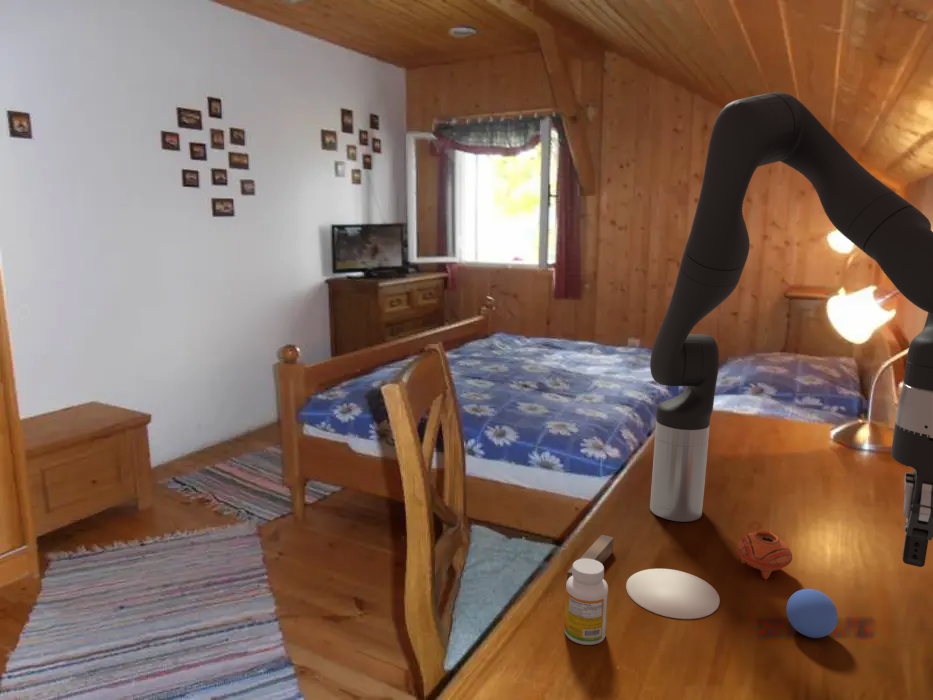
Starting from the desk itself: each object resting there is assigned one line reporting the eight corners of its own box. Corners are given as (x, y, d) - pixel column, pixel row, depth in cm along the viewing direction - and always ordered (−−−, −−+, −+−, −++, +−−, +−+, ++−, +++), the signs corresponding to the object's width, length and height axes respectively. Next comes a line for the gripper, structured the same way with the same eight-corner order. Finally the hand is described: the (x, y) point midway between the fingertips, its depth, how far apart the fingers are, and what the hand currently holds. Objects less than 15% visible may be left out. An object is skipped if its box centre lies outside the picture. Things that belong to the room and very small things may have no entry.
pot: (762, 551, 111) (774, 518, 108) (794, 586, 104) (808, 551, 102) (720, 555, 109) (731, 521, 106) (750, 591, 102) (763, 556, 99)
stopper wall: (601, 548, 112) (601, 534, 111) (612, 551, 111) (613, 537, 110) (566, 587, 100) (567, 571, 100) (579, 591, 99) (580, 575, 99)
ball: (787, 615, 94) (792, 575, 93) (836, 629, 91) (842, 588, 90) (781, 637, 89) (786, 596, 88) (832, 653, 86) (838, 610, 85)
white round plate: (642, 561, 108) (642, 560, 108) (728, 585, 101) (728, 584, 101) (613, 600, 97) (613, 599, 97) (707, 630, 90) (707, 628, 90)
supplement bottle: (577, 616, 93) (580, 551, 91) (613, 632, 90) (617, 564, 88) (556, 635, 89) (559, 566, 87) (592, 652, 86) (596, 581, 84)
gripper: (895, 406, 86) (878, 534, 89) (895, 434, 75) (875, 578, 78) (968, 416, 82) (947, 549, 86) (979, 446, 71) (954, 597, 75)
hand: (913, 562), depth 82 cm, fingers closed
